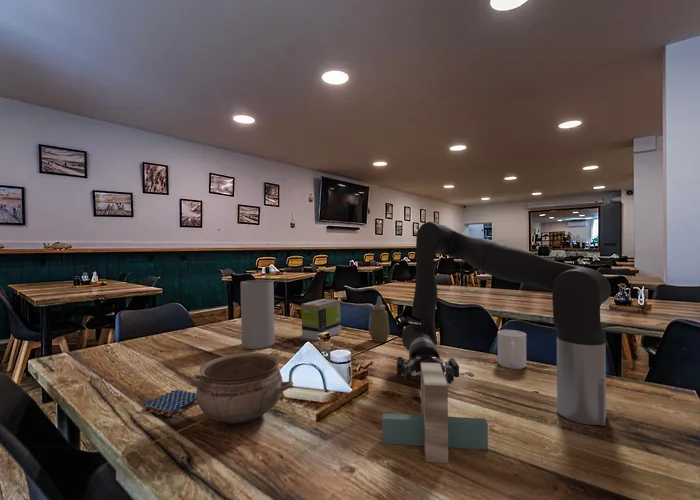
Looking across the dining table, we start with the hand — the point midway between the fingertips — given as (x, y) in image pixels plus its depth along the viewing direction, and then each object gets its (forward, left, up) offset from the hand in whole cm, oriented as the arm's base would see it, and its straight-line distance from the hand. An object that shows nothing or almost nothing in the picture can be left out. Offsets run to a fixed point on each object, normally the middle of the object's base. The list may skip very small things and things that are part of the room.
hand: (429, 378), depth 77 cm
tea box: (+69, -41, -10) cm, 81 cm away
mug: (-6, -47, -10) cm, 49 cm away
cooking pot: (+36, +23, -10) cm, 44 cm away
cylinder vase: (+80, -16, -10) cm, 82 cm away
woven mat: (+55, +29, -11) cm, 63 cm away
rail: (-4, +7, -10) cm, 13 cm away
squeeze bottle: (+44, -48, -10) cm, 66 cm away
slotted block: (-4, +7, -10) cm, 13 cm away
